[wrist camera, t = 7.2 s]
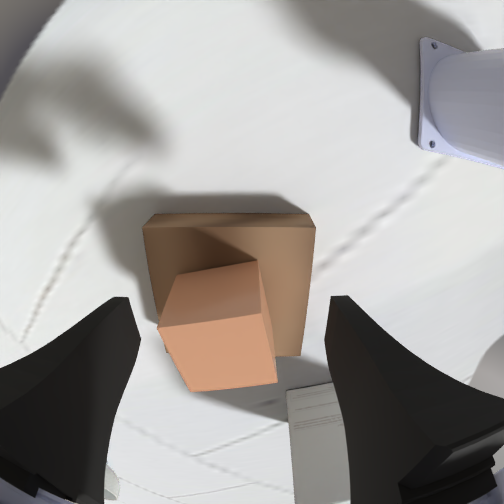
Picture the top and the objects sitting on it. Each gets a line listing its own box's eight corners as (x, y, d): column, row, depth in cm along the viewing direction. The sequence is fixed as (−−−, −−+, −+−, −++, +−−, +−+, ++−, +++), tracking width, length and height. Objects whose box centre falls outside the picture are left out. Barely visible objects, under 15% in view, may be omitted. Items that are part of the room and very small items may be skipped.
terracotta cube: (257, 260, 17) (261, 313, 13) (271, 325, 20) (277, 382, 15) (176, 274, 18) (156, 328, 13) (200, 335, 20) (190, 391, 15)
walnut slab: (307, 211, 19) (315, 227, 17) (296, 330, 24) (300, 355, 21) (157, 211, 19) (142, 227, 17) (174, 327, 24) (166, 352, 21)
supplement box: (291, 424, 29) (299, 524, 18) (284, 388, 26) (293, 510, 15) (355, 413, 29) (377, 509, 17) (360, 374, 26) (393, 490, 14)
